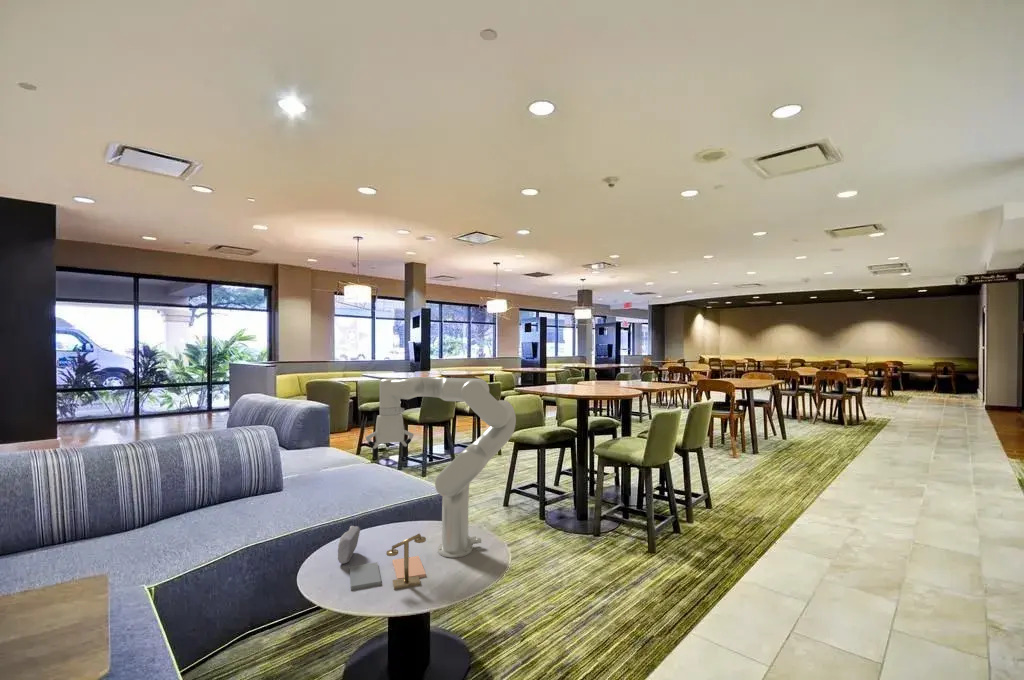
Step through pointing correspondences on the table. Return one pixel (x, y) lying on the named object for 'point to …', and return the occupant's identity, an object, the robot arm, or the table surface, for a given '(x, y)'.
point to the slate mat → (364, 576)
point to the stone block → (348, 544)
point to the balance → (406, 563)
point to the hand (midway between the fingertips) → (389, 457)
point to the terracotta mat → (414, 567)
